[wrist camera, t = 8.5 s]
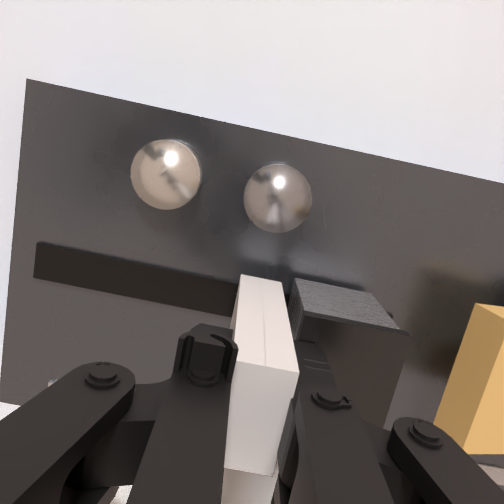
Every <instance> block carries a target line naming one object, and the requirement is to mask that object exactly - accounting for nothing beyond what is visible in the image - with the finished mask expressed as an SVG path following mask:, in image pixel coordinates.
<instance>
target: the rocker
mask: <svg viewBox="0 0 504 504" xmlns="http://www.w3.org/2000/svg"><path fill="white" fill-rule="evenodd" d="M433 424H434V425H435V426H437V427H438V428H440V429H442V430H443V431H444V432H446V433H447V434H448V435H449V436H450V437H452V439H453V440H454V441H455V442H456V443H457V444H458V445H459V446H460V447H461V448H462V449H463V450H464V451H465V452H466V453H467V454H504V307H502V306H494V305H486V304H478V303H475V305H474V308H473V311H472V314H471V317H470V320H469V322H468V325H467V328H466V331H465V334H464V337H463V340H462V342H461V345H460V348H459V351H458V354H457V357H456V360H455V362H454V365H453V368H452V371H451V374H450V377H449V380H448V382H447V385H446V388H445V391H444V394H443V397H442V400H441V402H440V405H439V408H438V411H437V414H436V417H435V420H434V422H433Z"/></svg>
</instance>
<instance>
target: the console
mask: <svg viewBox="0 0 504 504" xmlns="http://www.w3.org/2000/svg"><path fill="white" fill-rule="evenodd" d="M241 274H243V275H248V276H253V277H258V278H263V279H268V280H273V281H278V282H281V283H282V288H283V293H284V298H285V303H286V308H287V307H288V303H289V299H290V295H291V291H292V287H293V283H294V278H299V279H304V280H308V281H313V282H318V283H323V284H328V285H333V286H338V287H342V288H347V289H352V290H357V291H362V292H367V293H372V295H373V296H374V297H375V298H376V300H377V301H378V302H379V304H380V305H381V306H382V307H383V309H384V310H385V311H386V312H387V314H388V315H389V316H390V317H391V319H392V320H393V321H394V322H395V324H396V325H397V326H398V327H399V329H400V330H404V331H408V332H409V334H410V335H411V336H412V339H411V343H410V346H409V349H408V352H407V355H406V358H405V361H404V364H403V368H402V371H401V374H400V377H399V380H398V383H397V386H396V389H395V392H394V396H393V399H392V402H391V405H390V408H389V411H388V414H387V417H386V421H385V424H384V427H383V429H386V430H389V431H391V429H392V426H393V423H394V421H395V420H397V419H398V418H401V417H412V418H420V419H423V420H424V421H425V420H426V421H429V422H431V423H433V422H434V420H435V417H436V414H437V411H438V408H439V405H440V402H441V400H442V397H443V394H444V391H445V388H446V385H447V382H448V380H449V377H450V374H451V371H452V368H453V365H454V362H455V360H456V357H457V354H458V351H459V348H460V345H461V342H462V340H463V337H464V334H465V331H466V328H467V325H468V322H469V320H470V317H471V314H472V311H473V308H474V305H475V303H478V304H486V305H494V306H502V307H504V184H503V183H499V182H494V181H490V180H485V179H481V178H476V177H472V176H467V175H463V174H458V173H453V172H449V171H444V170H440V169H435V168H431V167H426V166H422V165H417V164H413V163H408V162H403V161H399V160H394V159H390V158H385V157H381V156H376V155H372V154H367V153H363V152H358V151H353V150H349V149H344V148H340V147H335V146H331V145H326V144H322V143H317V142H313V141H308V140H304V139H299V138H294V137H290V136H285V135H281V134H276V133H272V132H267V131H263V130H258V129H254V128H249V127H244V126H240V125H235V124H231V123H226V122H222V121H217V120H213V119H208V118H204V117H199V116H195V115H190V114H185V113H181V112H176V111H172V110H167V109H163V108H158V107H154V106H149V105H145V104H140V103H135V102H131V101H126V100H122V99H117V98H113V97H108V96H104V95H99V94H95V93H90V92H86V91H81V90H76V89H72V88H67V87H63V86H58V85H54V84H49V83H45V82H40V81H36V80H31V79H27V80H26V91H25V103H24V114H23V126H22V137H21V148H20V160H19V171H18V183H17V194H16V206H15V217H14V229H13V240H12V251H11V263H10V274H9V286H8V297H7V309H6V320H5V332H4V343H3V355H2V366H1V377H0V402H4V403H9V404H15V405H20V406H22V405H23V404H25V403H26V402H28V401H29V400H30V399H32V398H33V397H35V396H36V395H38V394H39V393H40V392H42V391H43V390H45V389H46V388H47V387H49V386H50V385H52V384H53V383H55V382H56V381H57V380H59V379H60V378H62V377H63V376H65V375H66V374H67V373H69V372H70V371H72V370H73V369H75V368H77V367H79V366H81V365H83V364H88V363H93V362H101V361H102V362H111V363H114V364H119V365H121V366H123V367H126V368H128V369H129V370H130V371H131V372H132V373H133V374H134V375H135V381H136V383H135V384H151V383H158V382H162V381H165V380H167V379H169V378H171V375H172V372H173V367H174V361H175V356H176V350H177V345H178V339H179V337H180V336H181V335H182V334H183V333H186V332H189V331H190V330H191V329H192V328H193V327H195V326H196V325H198V324H200V323H202V324H208V325H213V326H218V327H223V328H228V329H230V324H231V320H232V315H233V310H234V305H235V300H236V296H237V291H238V286H239V281H240V276H241ZM468 455H469V456H470V457H471V458H472V459H473V460H474V461H475V462H476V463H477V464H478V465H479V466H480V467H481V468H482V469H483V470H484V471H485V472H486V474H487V475H488V476H489V477H490V478H491V479H492V480H493V481H494V482H495V483H496V484H497V485H498V486H499V487H500V488H501V489H502V490H503V491H504V454H468Z"/></svg>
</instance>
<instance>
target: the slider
mask: <svg viewBox="0 0 504 504" xmlns="http://www.w3.org/2000/svg"><path fill="white" fill-rule="evenodd" d="M287 313H288V318H289V323H290V328H291V333H292V338H293V340H297V341H302V342H308V343H313V344H316V345H317V346H318V347H319V348H320V349H321V350H323V351H324V352H325V354H326V357H327V359H328V362H329V363H328V364H329V365H330V368H331V372H332V374H333V377H334V380H335V383H336V386H337V389H338V390H339V391H341V392H343V393H345V394H346V395H347V396H348V397H350V398H351V399H352V400H353V402H354V403H355V405H356V406H357V409H358V411H359V414H360V416H361V419H362V420H364V421H366V422H368V423H370V424H373V425H375V426H378V427H381V428H383V427H384V424H385V421H386V417H387V414H388V411H389V408H390V405H391V402H392V399H393V396H394V392H395V389H396V386H397V383H398V380H399V377H400V374H401V371H402V368H403V364H404V361H405V358H406V355H407V352H408V349H409V346H410V343H411V339H412V336H411V335H410V334H409V332H408V331H404V330H400V329H399V327H398V326H397V325H396V324H395V322H394V321H393V320H392V319H391V317H390V316H389V315H388V314H387V312H386V311H385V310H384V309H383V307H382V306H381V305H380V304H379V302H378V301H377V300H376V298H375V297H374V296H373V295H372V293H367V292H362V291H357V290H352V289H347V288H342V287H338V286H333V285H328V284H323V283H318V282H313V281H308V280H304V279H299V278H294V283H293V287H292V291H291V295H290V299H289V303H288V307H287Z"/></svg>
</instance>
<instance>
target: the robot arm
mask: <svg viewBox="0 0 504 504" xmlns="http://www.w3.org/2000/svg"><path fill="white" fill-rule="evenodd" d="M328 363H329V362H328V359H327V357H326V354H325V352H324V351H323V350H321V349H320V348H319V347H318V346H317V345H316V344H313V343H308V342H302V341H297V340H293V338H292V333H291V328H290V323H289V318H288V313H287V308H286V303H285V298H284V293H283V288H282V283H281V282H278V281H273V280H268V279H263V278H258V277H253V276H248V275H243V274H241V276H240V281H239V286H238V291H237V296H236V300H235V305H234V310H233V315H232V320H231V324H230V329H228V328H223V327H218V326H213V325H208V324H202V323H200V324H198V325H196V326H195V327H193V328H192V329H191V330H190V331H189V332H186V333H183V334H182V335H181V336H180V337H179V339H178V345H177V350H176V356H175V361H174V367H173V372H172V375H171V378H169V379H167V380H165V381H162V382H158V383H151V384H135V383H136V381H135V375H134V374H133V373H132V372H131V371H130V370H129V369H128V368H126V367H123V366H121V365H119V364H114V363H111V362H102V361H101V362H93V363H88V364H83V365H81V366H79V367H77V368H75V369H73V370H72V371H70V372H69V373H67V374H66V375H65V376H63V377H62V378H60V379H59V380H57V381H56V382H55V383H53V384H52V385H50V386H49V387H47V388H46V389H45V390H43V391H42V392H40V393H39V394H38V395H36V396H35V397H33V398H32V399H30V400H29V401H28V402H26V403H25V404H23V405H22V406H20V407H19V408H18V409H16V410H15V411H13V412H12V413H10V414H9V415H8V416H6V417H5V418H3V419H2V420H1V421H0V504H110V502H111V501H112V500H113V498H114V497H115V495H116V493H117V491H118V488H119V486H124V485H133V486H132V489H131V492H130V494H129V497H128V500H127V503H126V504H221V495H222V483H223V472H224V468H228V469H233V470H239V471H244V472H250V473H256V474H261V475H267V476H272V477H273V475H274V471H275V467H276V463H277V459H278V466H279V474H278V478H277V482H276V485H275V489H274V493H273V497H272V501H271V504H504V491H503V490H502V489H501V488H500V487H499V486H498V485H497V484H496V483H495V482H494V481H493V480H492V479H491V478H490V477H489V476H488V475H487V474H486V472H485V471H484V470H483V469H482V468H481V467H480V466H479V465H478V464H477V463H476V462H475V461H474V460H473V459H472V458H471V457H470V456H469V455H468V454H467V453H466V452H465V451H464V450H463V449H462V448H461V447H460V446H459V445H458V444H457V443H456V442H455V441H454V440H453V439H452V437H450V436H449V435H448V434H447V433H446V432H444V431H443V430H442V429H440V428H438V427H437V426H435V425H434V424H433V423H431V422H429V421H426V420H425V421H424V420H423V419H420V418H412V417H401V418H398V419H397V420H395V421H394V423H393V426H392V429H391V431H389V430H386V429H383V428H381V427H378V426H375V425H373V424H370V423H368V422H366V421H364V420H362V419H361V416H360V414H359V411H358V409H357V406H356V405H355V403H354V402H353V400H352V399H351V398H350V397H348V396H347V395H346V394H345V393H343V392H341V391H339V390H338V389H337V386H336V383H335V380H334V377H333V374H332V372H331V368H330V365H329V364H328Z"/></svg>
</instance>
